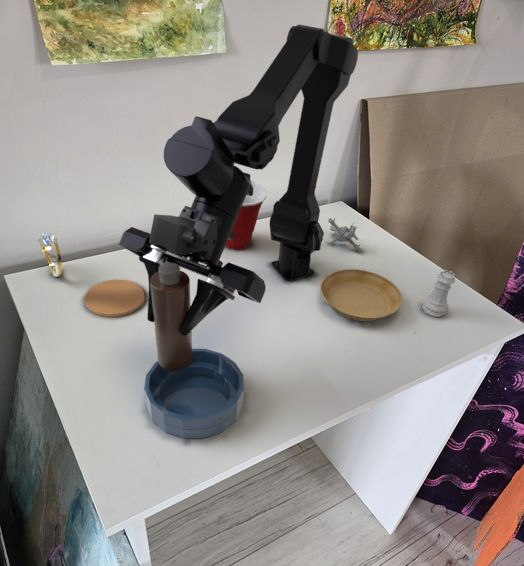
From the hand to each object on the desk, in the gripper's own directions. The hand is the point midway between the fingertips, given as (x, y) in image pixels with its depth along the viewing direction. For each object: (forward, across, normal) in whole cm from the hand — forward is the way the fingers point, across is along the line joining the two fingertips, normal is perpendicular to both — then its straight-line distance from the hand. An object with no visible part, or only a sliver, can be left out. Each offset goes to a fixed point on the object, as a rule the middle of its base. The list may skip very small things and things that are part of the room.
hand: (166, 328), depth 61 cm
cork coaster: (0, -22, +19) cm, 29 cm away
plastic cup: (-20, -14, +39) cm, 46 cm away
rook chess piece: (-21, +28, +40) cm, 52 cm away
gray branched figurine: (-29, +4, +48) cm, 56 cm away
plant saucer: (-16, +15, +35) cm, 42 cm away
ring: (0, -35, +19) cm, 40 cm away
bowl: (+9, +4, +10) cm, 13 cm away
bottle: (+4, 0, +6) cm, 7 cm away
